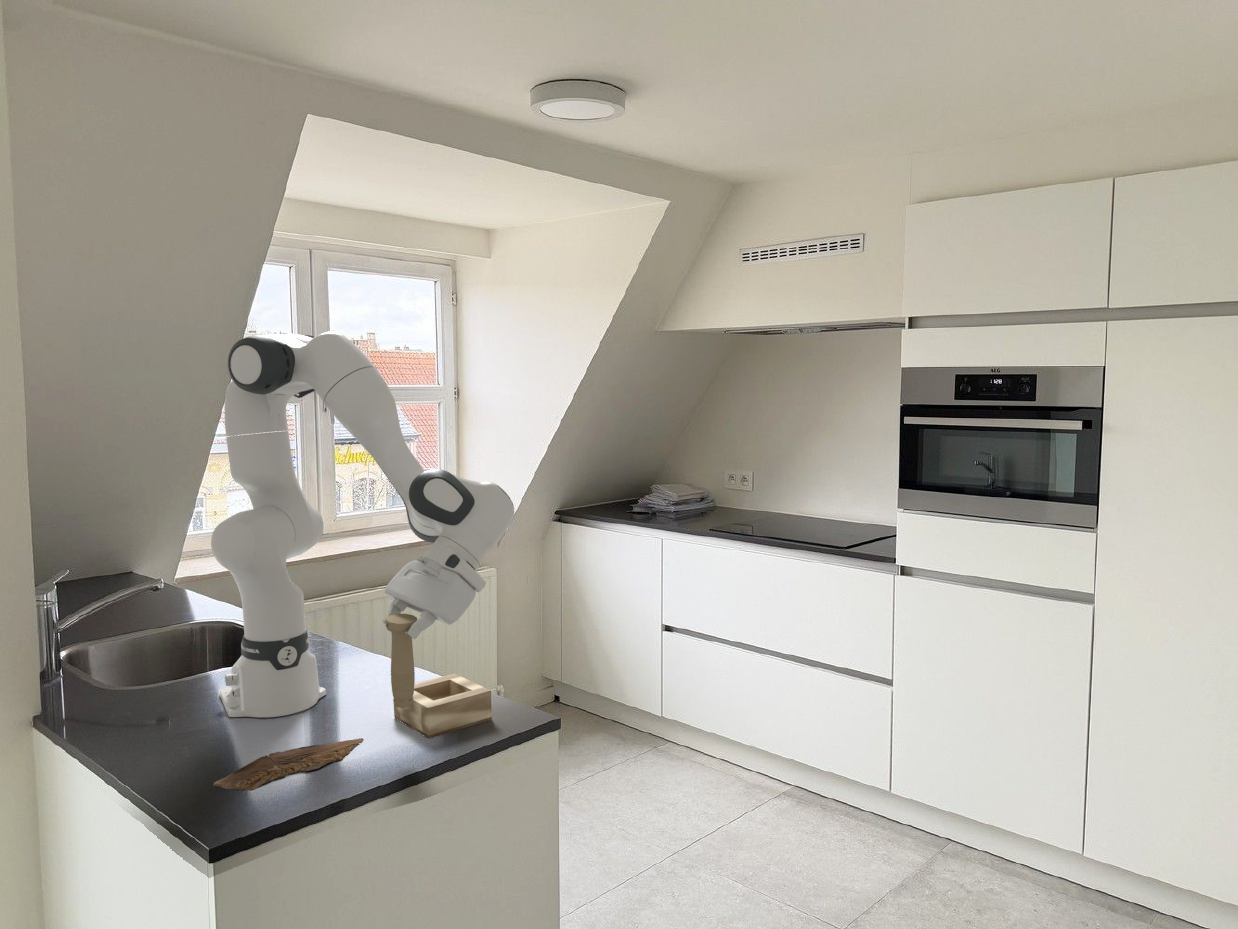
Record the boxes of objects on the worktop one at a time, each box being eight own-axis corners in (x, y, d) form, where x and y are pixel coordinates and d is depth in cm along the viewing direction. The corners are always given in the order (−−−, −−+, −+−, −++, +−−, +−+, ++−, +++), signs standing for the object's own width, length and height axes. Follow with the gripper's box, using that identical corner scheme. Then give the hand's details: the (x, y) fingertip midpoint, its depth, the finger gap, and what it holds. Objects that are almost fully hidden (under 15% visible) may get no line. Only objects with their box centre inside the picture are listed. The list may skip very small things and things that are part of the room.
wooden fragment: (226, 800, 140) (226, 793, 140) (202, 777, 148) (202, 771, 148) (381, 752, 157) (381, 746, 157) (352, 734, 166) (352, 728, 166)
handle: (396, 714, 152) (394, 625, 150) (383, 702, 157) (380, 616, 156) (424, 708, 155) (422, 620, 153) (410, 697, 160) (408, 612, 158)
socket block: (394, 718, 172) (393, 689, 171) (455, 701, 180) (454, 673, 180) (428, 738, 162) (427, 707, 161) (491, 720, 170) (491, 690, 170)
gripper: (407, 544, 166) (357, 607, 160) (468, 563, 150) (415, 633, 145) (430, 566, 169) (382, 627, 164) (491, 586, 153) (440, 655, 148)
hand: (398, 630), depth 154 cm, fingers closed on handle, 6 cm apart
